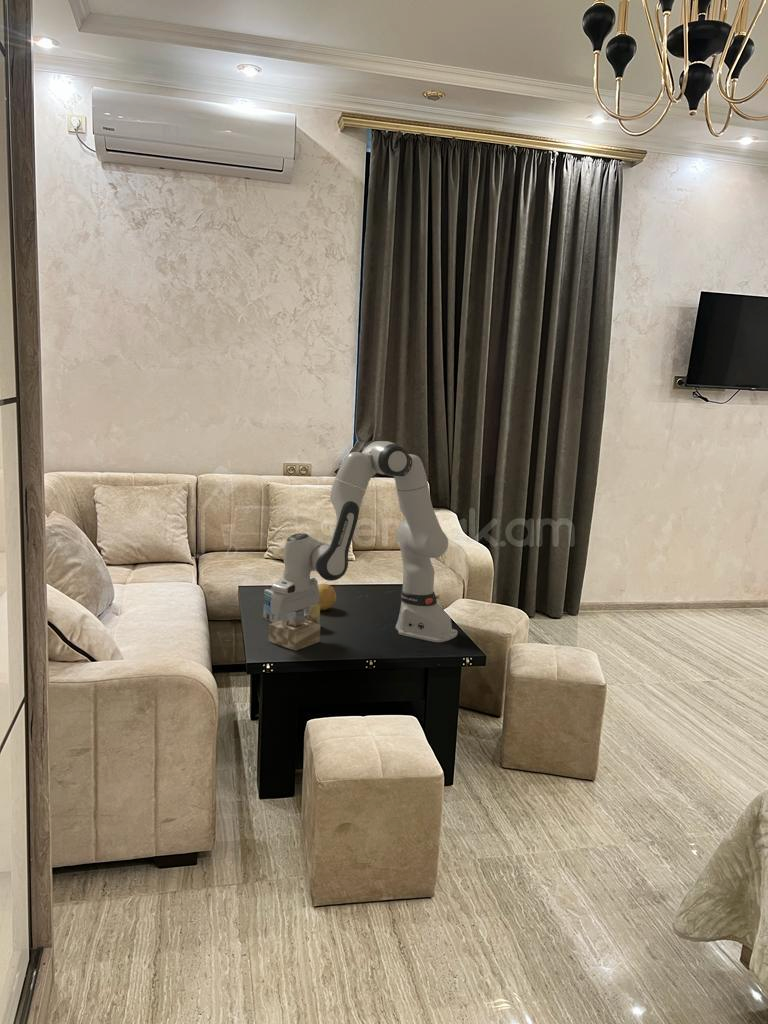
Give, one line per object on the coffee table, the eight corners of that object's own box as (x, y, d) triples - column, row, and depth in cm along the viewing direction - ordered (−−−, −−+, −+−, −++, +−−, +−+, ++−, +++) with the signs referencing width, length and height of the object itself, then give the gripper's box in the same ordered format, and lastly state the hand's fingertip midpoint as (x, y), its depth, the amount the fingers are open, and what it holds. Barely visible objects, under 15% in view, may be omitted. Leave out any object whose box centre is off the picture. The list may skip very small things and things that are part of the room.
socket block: (319, 641, 255) (320, 624, 254) (295, 650, 246) (295, 633, 245) (293, 632, 262) (294, 616, 261) (268, 641, 253) (269, 624, 252)
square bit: (303, 638, 254) (304, 609, 252) (295, 641, 251) (296, 612, 249) (294, 635, 257) (295, 607, 255) (286, 638, 253) (287, 609, 252)
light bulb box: (262, 617, 276) (263, 589, 274) (278, 614, 281) (279, 586, 279) (278, 626, 268) (279, 596, 266) (294, 622, 273) (295, 594, 271)
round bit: (322, 626, 270) (323, 605, 269) (311, 630, 265) (312, 608, 264) (310, 622, 273) (310, 601, 272) (298, 626, 269) (299, 605, 267)
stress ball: (307, 610, 291) (307, 600, 282) (313, 587, 295) (314, 576, 287) (332, 616, 290) (333, 606, 282) (338, 593, 295) (339, 582, 287)
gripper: (310, 575, 260) (308, 613, 263) (267, 586, 244) (266, 627, 247) (324, 578, 257) (322, 617, 259) (282, 590, 240) (280, 632, 243)
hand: (295, 622), depth 253 cm, fingers open, 8 cm apart
